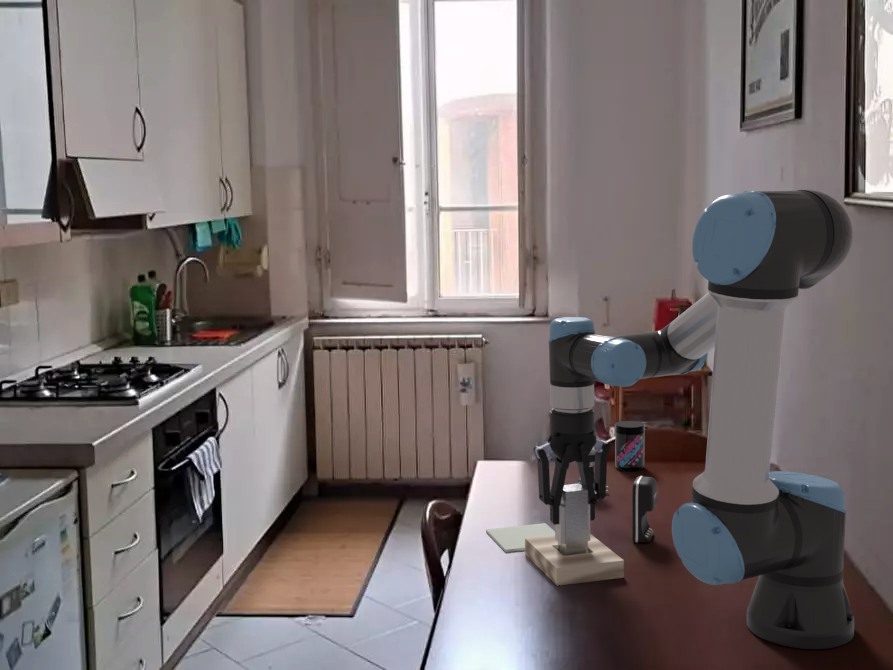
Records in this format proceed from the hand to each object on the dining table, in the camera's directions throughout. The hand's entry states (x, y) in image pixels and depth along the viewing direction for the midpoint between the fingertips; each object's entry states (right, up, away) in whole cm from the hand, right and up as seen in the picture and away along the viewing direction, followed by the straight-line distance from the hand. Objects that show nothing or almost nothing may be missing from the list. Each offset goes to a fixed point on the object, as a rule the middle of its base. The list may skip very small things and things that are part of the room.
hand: (572, 539), depth 187 cm
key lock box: (+15, -3, +14) cm, 21 cm away
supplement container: (+21, +5, +62) cm, 66 cm away
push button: (+9, +2, +43) cm, 44 cm away
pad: (-7, -3, +15) cm, 17 cm away
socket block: (0, -5, +1) cm, 5 cm away
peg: (0, -5, +1) cm, 5 cm away
